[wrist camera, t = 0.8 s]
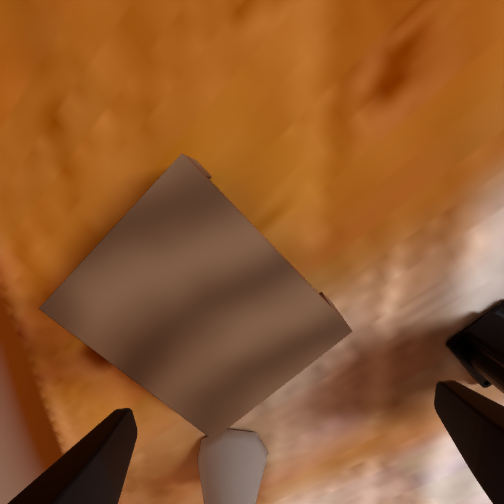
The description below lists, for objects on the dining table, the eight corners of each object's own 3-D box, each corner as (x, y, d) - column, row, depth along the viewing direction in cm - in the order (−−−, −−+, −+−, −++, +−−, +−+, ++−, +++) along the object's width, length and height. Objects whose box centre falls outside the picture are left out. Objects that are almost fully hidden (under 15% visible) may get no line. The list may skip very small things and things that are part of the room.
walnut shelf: (333, 304, 21) (352, 331, 17) (218, 398, 24) (212, 439, 20) (195, 159, 18) (181, 153, 14) (78, 285, 20) (38, 308, 17)
